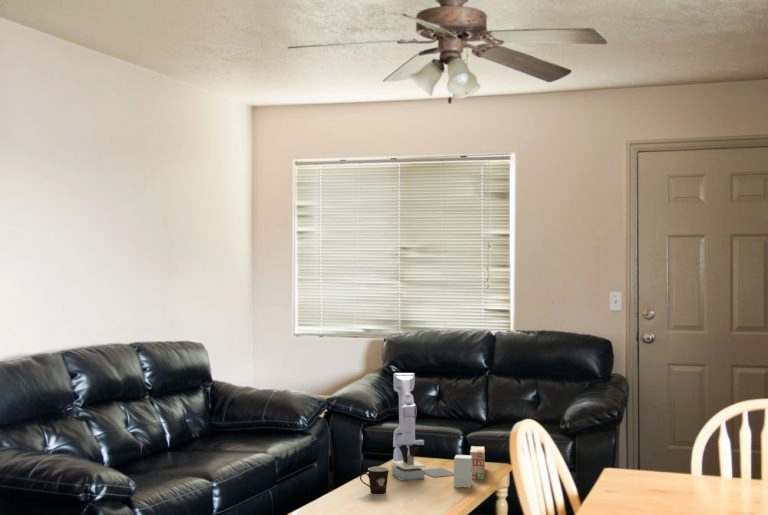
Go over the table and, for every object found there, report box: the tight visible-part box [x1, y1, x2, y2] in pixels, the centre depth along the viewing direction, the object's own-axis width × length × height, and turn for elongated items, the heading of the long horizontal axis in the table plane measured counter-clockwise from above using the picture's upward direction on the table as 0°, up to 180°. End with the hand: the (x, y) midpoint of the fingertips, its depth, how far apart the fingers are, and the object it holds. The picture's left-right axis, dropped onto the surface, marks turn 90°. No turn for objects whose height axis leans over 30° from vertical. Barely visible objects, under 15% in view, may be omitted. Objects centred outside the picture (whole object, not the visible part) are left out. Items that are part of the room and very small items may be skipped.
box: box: [392, 465, 425, 482], centre depth 400 cm, size 12×10×4 cm
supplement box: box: [453, 454, 473, 488], centre depth 385 cm, size 7×7×13 cm
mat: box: [423, 467, 454, 478], centre depth 408 cm, size 14×12×1 cm
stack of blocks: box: [469, 445, 486, 479], centre depth 408 cm, size 21×6×12 cm, turn 172°
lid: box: [391, 454, 426, 470], centre depth 400 cm, size 13×11×5 cm
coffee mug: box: [359, 466, 390, 495], centre depth 372 cm, size 12×9×10 cm
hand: (408, 461), depth 400 cm, fingers closed on lid, 2 cm apart
